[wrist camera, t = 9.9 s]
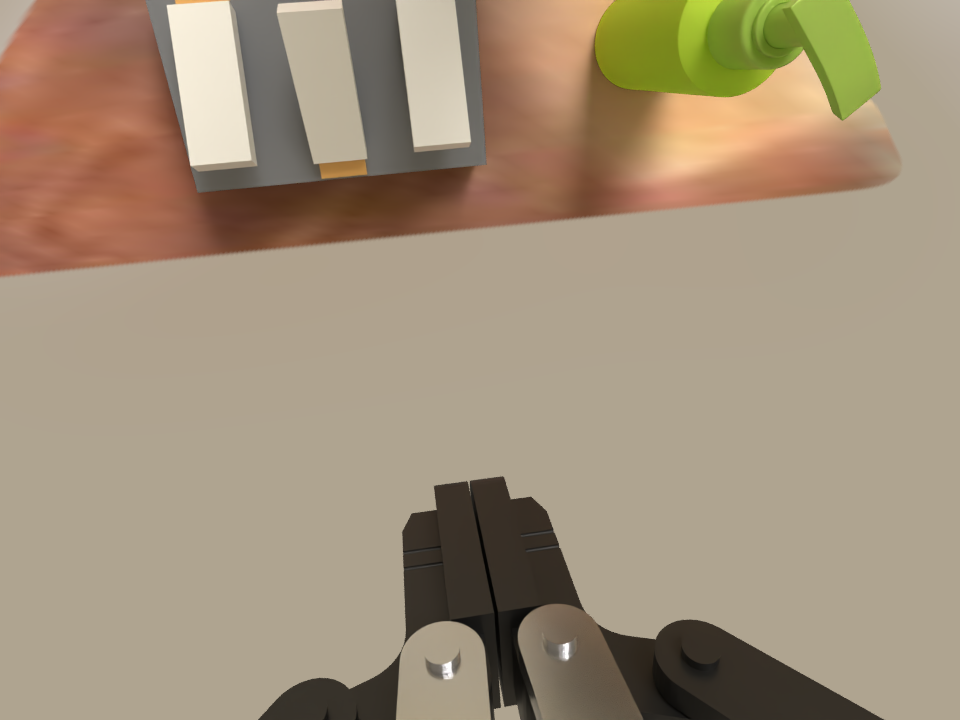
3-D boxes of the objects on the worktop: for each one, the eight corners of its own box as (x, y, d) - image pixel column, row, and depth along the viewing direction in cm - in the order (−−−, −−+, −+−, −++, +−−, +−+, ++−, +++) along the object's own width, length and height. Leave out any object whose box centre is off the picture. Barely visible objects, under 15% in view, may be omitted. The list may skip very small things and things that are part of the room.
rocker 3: (451, -5, 35) (452, -16, 33) (469, 147, 35) (470, 141, 34) (395, -1, 34) (394, -12, 33) (414, 152, 35) (414, 147, 34)
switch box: (464, -32, 38) (476, -47, 33) (478, 156, 43) (489, 167, 38) (164, -12, 36) (130, -24, 31) (214, 181, 41) (191, 197, 36)
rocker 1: (235, 12, 34) (228, 0, 32) (257, 166, 34) (251, 160, 33) (175, 16, 33) (166, 4, 32) (198, 171, 34) (190, 166, 33)
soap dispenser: (633, 120, 43) (808, 156, 25) (577, 35, 40) (728, 9, 22) (702, 60, 42) (935, 53, 24) (648, -31, 39) (867, -115, 21)
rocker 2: (341, -1, 31) (341, 8, 31) (366, 148, 38) (367, 158, 37) (278, 3, 31) (276, 13, 30) (314, 153, 37) (313, 164, 37)
